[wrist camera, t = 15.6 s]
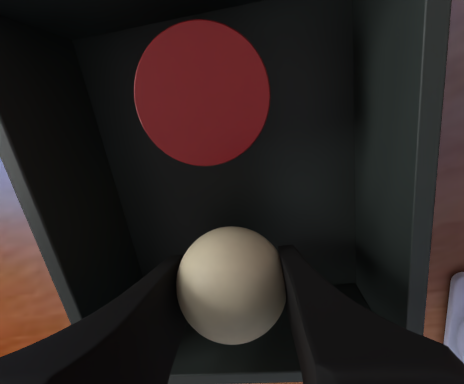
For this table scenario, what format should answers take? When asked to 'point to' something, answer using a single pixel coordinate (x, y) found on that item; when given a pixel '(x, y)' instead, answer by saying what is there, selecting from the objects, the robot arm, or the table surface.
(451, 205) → the table surface
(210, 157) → the red cylinder
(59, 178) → the bin
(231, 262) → the beige ball
